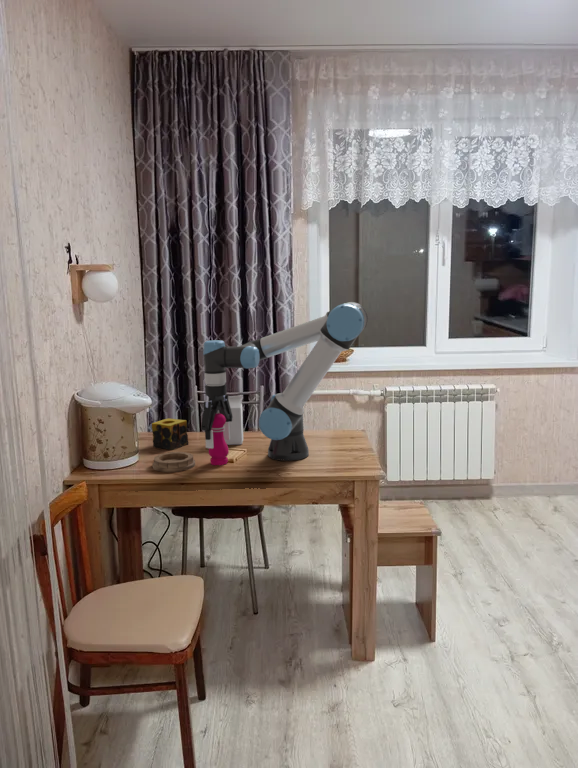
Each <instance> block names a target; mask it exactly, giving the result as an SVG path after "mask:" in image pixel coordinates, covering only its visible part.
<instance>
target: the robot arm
mask: <svg viewBox="0 0 578 768" xmlns="http://www.w3.org/2000/svg"><path fill="white" fill-rule="evenodd" d="M368 319H369V318H368V312H367V310H366V309H365V307H364V306H363V305H361V304H360V303H358V302H356V301H355V302H354V301H348V302H343V303H341V304H338V305H337V306H335V307H333V308H332V309H331V310H330V311H327V312H326V313H325V315H324V316H320V317H317V318H314V319H311V320H309V321H307V322H303V323H300V324H297V325H294V326H292V327H290V328H286V329H284V330H280V331H277V332H275V333H271V334H270V335H267V336H263V337H261V338H258V339H256V340H251V341H248V342H246V343H244V344H242V345H240V346H227V345H226V343H225V341H224V340H221V339H220V340H218V339H214V340H213V339H211V340H207V341H204V342H203V351H202V352H203V353H202V354H203V368H204V383H205V385H204V390H205V392H204V394H205V396H206V397H208V401H203V411H202V419H201V425H200V430H202V431H204V439H205V449H209V448H212V449H213V448H214V444H213V430H211V429H212V425H213V422H214V418H215V414H216V413H217V411H218V410H219V413H221V414H223V415H224V416H225V419H226V422H225V424H224V427H225V428H224V429H225V430H224V433H223V434H224V439H226V440H230V424H229V422H232V418H233V416H232V412H231V408H230V404H229V400H228V396H229V394H227V390H228V389H227V384H226V383H227V369H231V368H233V369H247V370H248V369H254V368H257V367H258V366H259V364H260V361H262V360H266V359H268V358H271V357H273V356H276V355H279V354H283V353H286V352H288V351H291V350H292V351H293V350H295V349H297V348H300V347H304V346H307V345H310V344H312V343H315V342H316V343H315V344H314V346H313V347H312V349H311V351H310V352H309V353H308V355H307V357H306V358H305V359H304V361H303V362H302V364H301V366H299V368H298V370H297V371H296V372H295V374H294V375H293V376H292V379H290V382H289V383H288V384H287V386H286V387H285V389H284V390H283V392H280V393H276V394H273V395H271V396H270V397H271V398H270V402H269V405H267V407H266V408H265V409H264V410H262V412H261V413H260V416H259V419H258V426H259V430H260V431H261V433H262V434H263V435H264V436H265V437H266V438H267V439H270V442H269V445H268V449H267V455H268V456H267V457H268V458H270V459H272V460H275V461H284V462H285V461H298V460H302V459H305V458H307V457H309V455H310V454H309V453H310V452H309V450H310V449H309V446H308V444H307V441H306V438H305V435H304V434H305V433H304V413H305V410H304V406H305V405H306V403H307V402H308V401H309V400H310V398H311V396H312V395H313V393H314V392H315V391H316V389H317V388H318V387H319V385H320V384H321V382H322V380H323V379H324V378H325V376H326V375H327V373H328V372H329V370H330V369H331V368H332V366H333V365H334V363H335V362H336V360H337V359H338V357H339V356H340V354H342V352H345V351H349V350H350V348H351V347H352V345H353V344H354V342H355V341H356V340H357V338H358V337H359V336H360V334H361V333H362V332H363V331H364V330H365V328H366V327H367V324H368Z"/></svg>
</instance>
